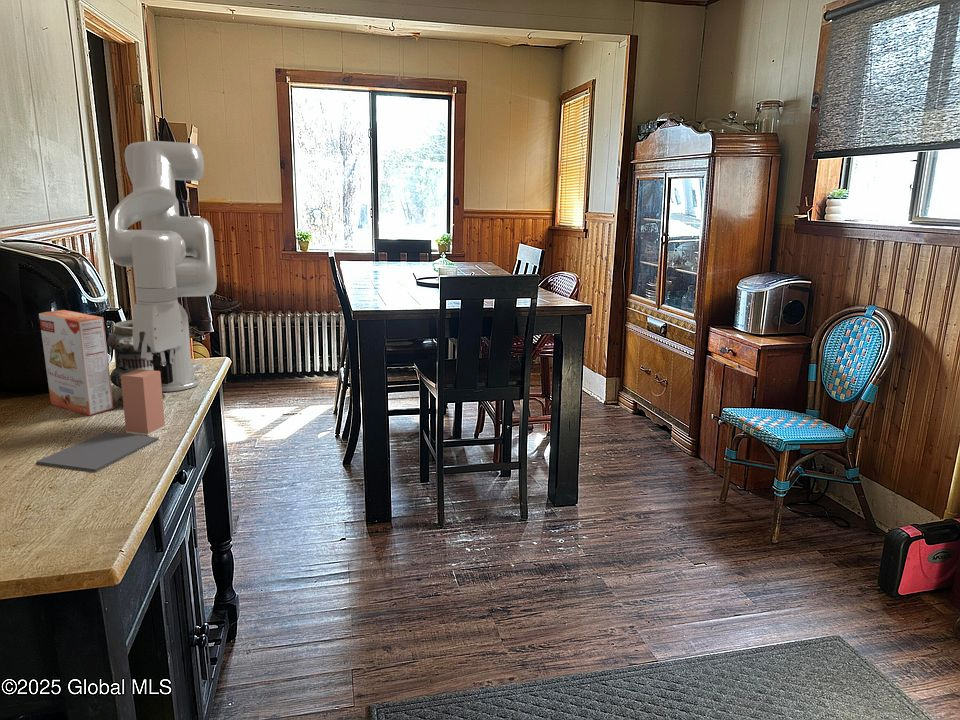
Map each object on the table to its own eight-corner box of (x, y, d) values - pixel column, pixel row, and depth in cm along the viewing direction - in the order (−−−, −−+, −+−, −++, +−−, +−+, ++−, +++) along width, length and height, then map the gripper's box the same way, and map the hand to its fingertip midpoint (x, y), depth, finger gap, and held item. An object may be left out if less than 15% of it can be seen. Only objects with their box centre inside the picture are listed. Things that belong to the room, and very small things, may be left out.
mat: (105, 433, 131) (105, 431, 130) (158, 440, 128) (158, 437, 128) (36, 464, 115) (36, 461, 115) (95, 472, 113) (95, 469, 113)
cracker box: (48, 405, 146) (36, 312, 141) (75, 398, 151) (65, 308, 146) (87, 417, 140) (76, 320, 134) (114, 409, 145) (105, 315, 140)
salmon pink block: (143, 425, 136) (138, 368, 133) (164, 427, 135) (160, 371, 132) (126, 433, 131) (120, 375, 128) (148, 435, 130) (142, 377, 127)
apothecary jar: (133, 410, 144) (126, 330, 140) (100, 400, 150) (93, 323, 146) (182, 397, 155) (176, 322, 150) (149, 388, 160) (143, 316, 156)
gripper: (164, 289, 141) (171, 372, 145) (113, 299, 126) (122, 390, 131) (196, 291, 139) (201, 375, 144) (147, 301, 125) (155, 394, 129)
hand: (163, 382), depth 137 cm, fingers closed
